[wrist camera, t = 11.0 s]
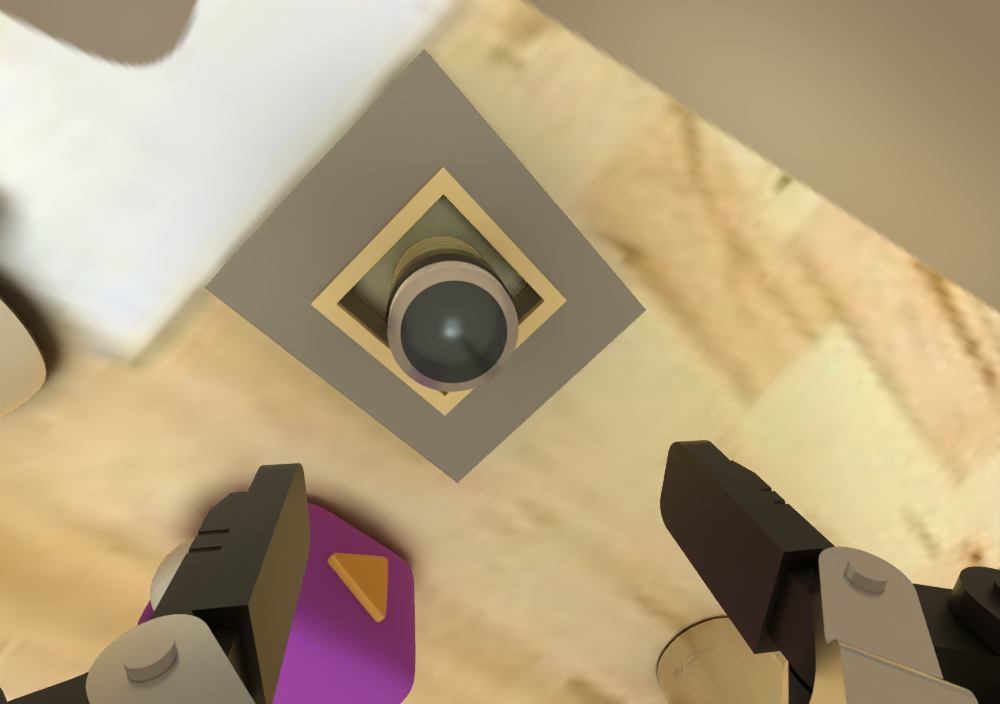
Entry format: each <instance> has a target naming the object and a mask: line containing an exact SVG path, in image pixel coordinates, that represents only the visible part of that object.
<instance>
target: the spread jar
mask: <svg viewBox="0 0 1000 704" xmlns="http://www.w3.org/2000/svg"><path fill="white" fill-rule="evenodd" d="M46 369H47V368H46V362H45V359H44V356H43V353H42V351H41V349H40V346H39V344H38V343H37V341H36V339H35V337H34V335H33V334H32V332H31V330H30V329H29V327H28V326H27V324H26V323H25V322H24V320H23V319H22V318H21V316H20V315H19V314H18V313H17V312H16V311H15V309H14V308H13V307H12V306H11V305H10V304H9V303H8V302H7V301H6V300H5V299H3V298H2V297H1V296H0V419H1V418H2V417H4V416H5V415H7V414H8V413H10V412H11V411H13V410H14V409H16V408H17V407H19V406H20V405H21V404H23V403H24V402H26V401H27V400H28V399H29V398H31V397H32V396H33V395H34V394H35V393H36V392H37V391H38V390H39V389H40V388H41V387H42V386H43V384H44V382H45V379H46Z"/></svg>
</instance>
